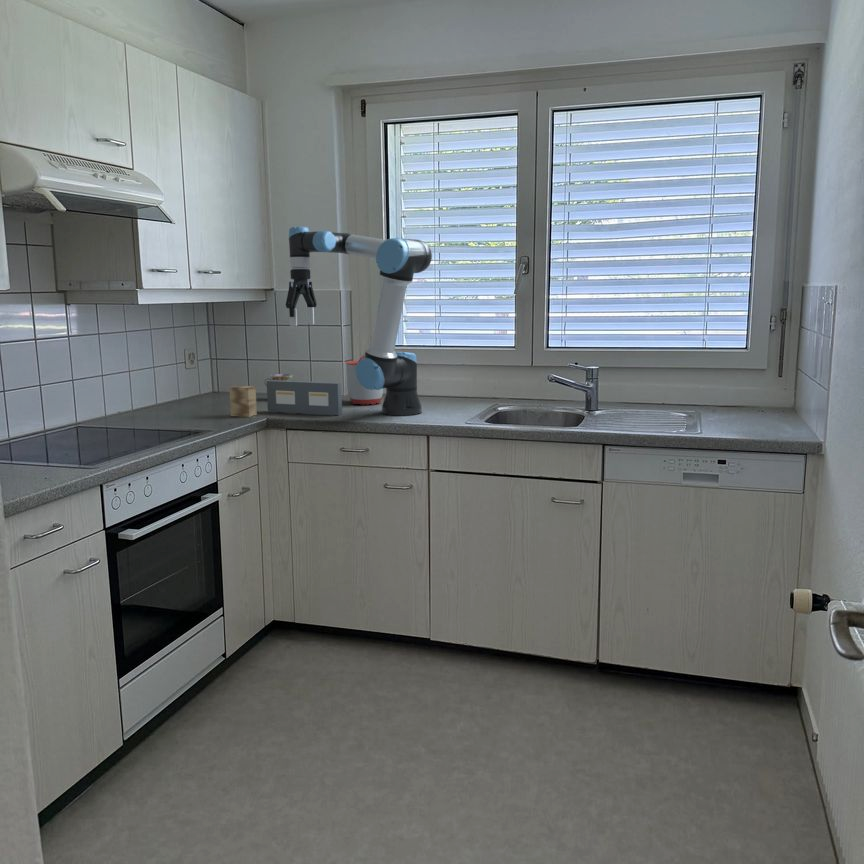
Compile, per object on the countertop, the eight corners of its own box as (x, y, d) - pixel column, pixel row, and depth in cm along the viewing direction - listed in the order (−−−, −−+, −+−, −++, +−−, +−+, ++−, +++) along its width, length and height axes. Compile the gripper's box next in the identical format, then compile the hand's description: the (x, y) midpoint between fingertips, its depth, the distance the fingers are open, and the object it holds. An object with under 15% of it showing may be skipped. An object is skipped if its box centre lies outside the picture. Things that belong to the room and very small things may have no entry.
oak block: (256, 415, 292) (255, 386, 290) (249, 417, 288) (248, 388, 286) (238, 414, 295) (236, 385, 293) (230, 416, 290) (229, 387, 288)
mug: (295, 398, 336) (294, 373, 334) (292, 401, 327) (291, 376, 325) (267, 398, 335) (266, 374, 333) (263, 401, 326) (262, 376, 324)
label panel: (342, 414, 293) (341, 382, 291) (338, 415, 290) (337, 383, 287) (272, 410, 303) (270, 380, 300) (267, 412, 299) (265, 381, 297)
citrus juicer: (385, 406, 311) (384, 356, 308) (342, 406, 313) (341, 356, 310) (392, 400, 327) (391, 353, 323) (351, 400, 329) (350, 352, 325)
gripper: (307, 269, 310) (309, 323, 314) (274, 268, 287) (277, 326, 291) (324, 269, 308) (325, 323, 312) (292, 268, 284) (295, 326, 288)
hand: (302, 325), depth 301 cm, fingers open, 13 cm apart
